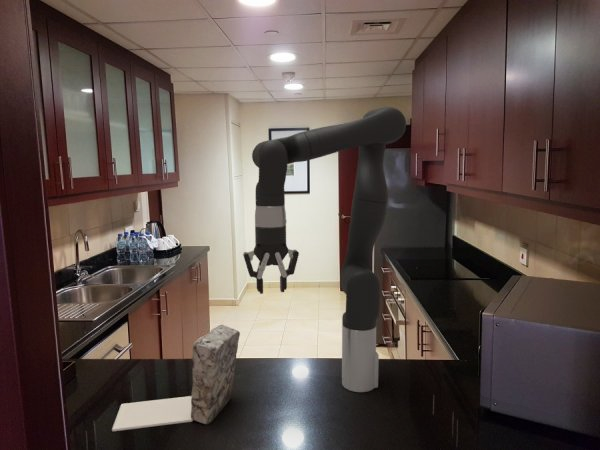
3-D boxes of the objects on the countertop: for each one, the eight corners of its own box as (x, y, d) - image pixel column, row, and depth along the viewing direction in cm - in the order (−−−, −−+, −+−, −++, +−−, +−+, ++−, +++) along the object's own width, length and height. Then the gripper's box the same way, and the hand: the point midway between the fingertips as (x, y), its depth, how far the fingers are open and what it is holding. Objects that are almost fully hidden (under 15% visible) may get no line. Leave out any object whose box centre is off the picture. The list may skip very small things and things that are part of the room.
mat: (194, 397, 113) (194, 395, 113) (192, 421, 102) (192, 419, 102) (121, 405, 109) (121, 403, 109) (112, 431, 98) (112, 429, 98)
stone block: (213, 428, 100) (220, 347, 97) (186, 420, 101) (192, 341, 98) (234, 398, 113) (241, 326, 109) (210, 392, 114) (216, 321, 111)
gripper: (296, 221, 109) (296, 286, 111) (239, 223, 106) (241, 289, 109) (302, 225, 102) (303, 294, 104) (242, 227, 99) (244, 298, 101)
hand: (271, 291), depth 106 cm, fingers open, 4 cm apart
